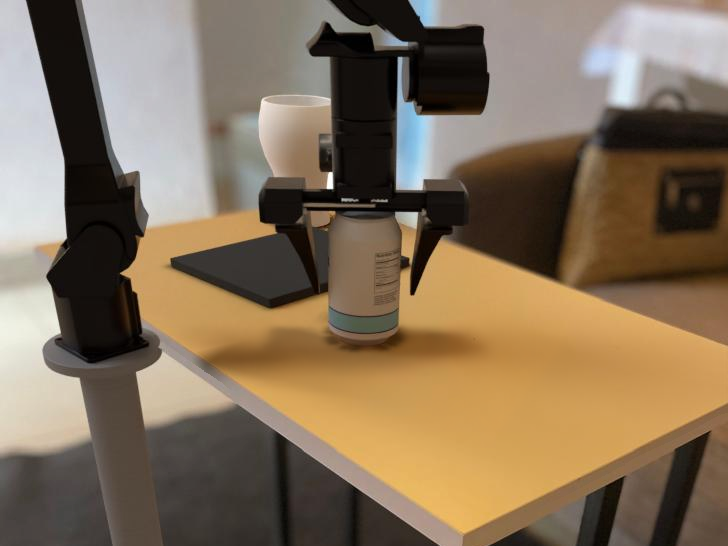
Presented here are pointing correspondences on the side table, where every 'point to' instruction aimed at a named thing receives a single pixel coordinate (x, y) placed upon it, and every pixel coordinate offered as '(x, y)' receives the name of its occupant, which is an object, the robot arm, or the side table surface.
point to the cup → (296, 139)
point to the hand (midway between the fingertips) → (365, 293)
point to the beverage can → (364, 276)
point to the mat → (261, 268)
